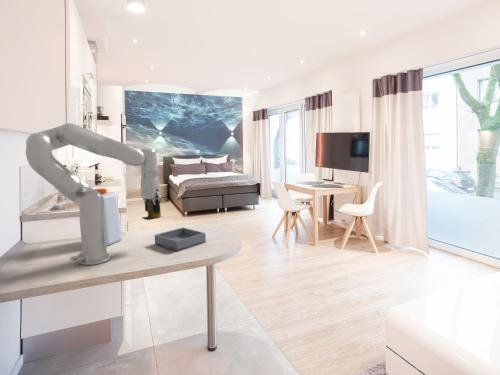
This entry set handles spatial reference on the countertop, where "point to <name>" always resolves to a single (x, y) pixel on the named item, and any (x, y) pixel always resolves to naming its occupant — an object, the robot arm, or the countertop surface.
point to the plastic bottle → (111, 217)
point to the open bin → (180, 239)
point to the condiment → (152, 211)
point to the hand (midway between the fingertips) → (152, 211)
